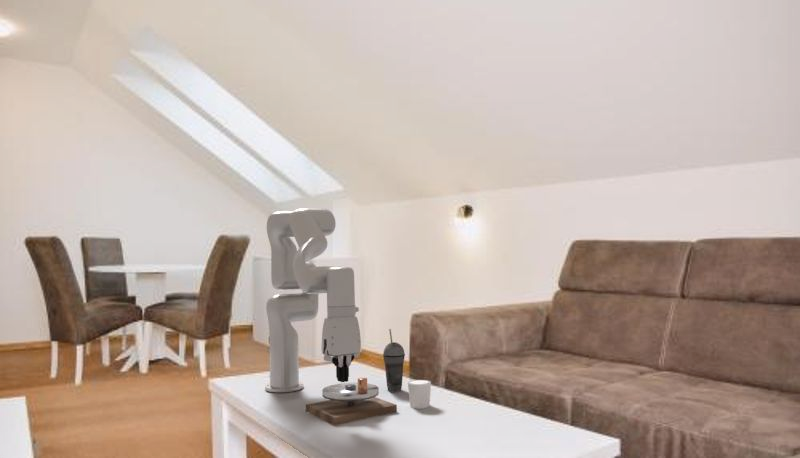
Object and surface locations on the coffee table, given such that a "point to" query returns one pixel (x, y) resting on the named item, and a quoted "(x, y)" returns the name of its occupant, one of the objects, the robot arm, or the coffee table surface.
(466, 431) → the coffee table surface
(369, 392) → the handwheel
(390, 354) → the beverage cup
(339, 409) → the wheel base
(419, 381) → the white faceted cup
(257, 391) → the coffee table surface
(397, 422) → the coffee table surface
